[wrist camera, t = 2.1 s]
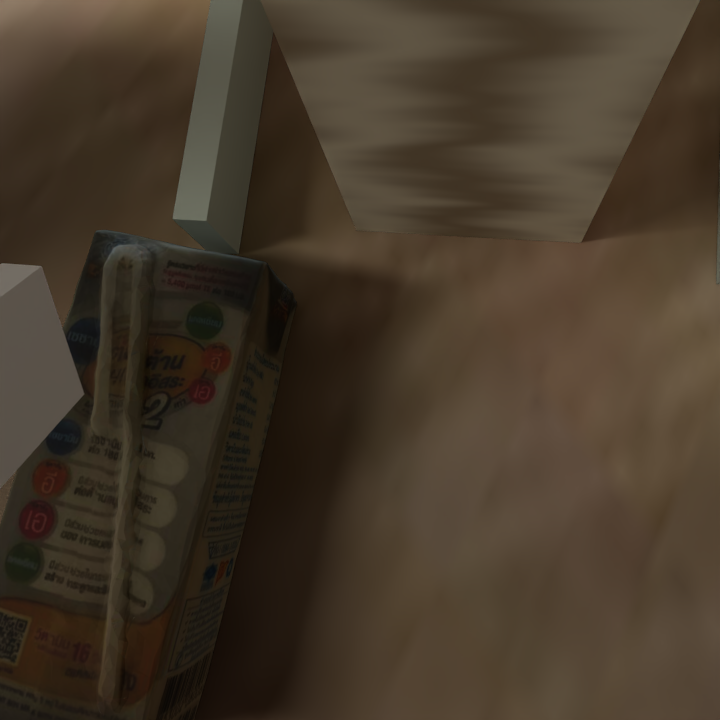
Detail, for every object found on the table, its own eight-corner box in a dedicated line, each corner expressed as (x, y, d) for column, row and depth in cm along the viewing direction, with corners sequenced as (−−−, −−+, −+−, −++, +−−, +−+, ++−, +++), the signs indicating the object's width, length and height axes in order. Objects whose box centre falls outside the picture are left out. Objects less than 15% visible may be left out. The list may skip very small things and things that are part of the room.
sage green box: (208, 252, 31) (93, 146, 21) (263, -83, 34) (184, -309, 24) (755, 286, 27) (921, 174, 17) (760, -98, 30) (903, -377, 20)
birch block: (356, 230, 30) (243, -41, 15) (363, 170, 31) (262, -154, 15) (581, 242, 28) (724, -51, 13) (585, 179, 29) (728, -178, 13)
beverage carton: (311, 298, 30) (270, 249, 24) (204, 734, 27) (124, 811, 21) (155, 269, 32) (77, 215, 25) (38, 679, 29) (-84, 736, 22)
